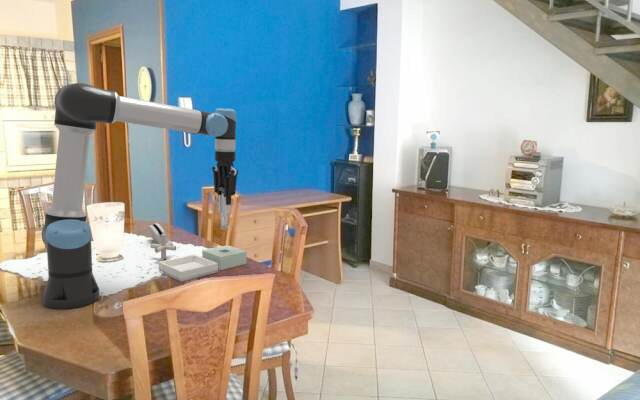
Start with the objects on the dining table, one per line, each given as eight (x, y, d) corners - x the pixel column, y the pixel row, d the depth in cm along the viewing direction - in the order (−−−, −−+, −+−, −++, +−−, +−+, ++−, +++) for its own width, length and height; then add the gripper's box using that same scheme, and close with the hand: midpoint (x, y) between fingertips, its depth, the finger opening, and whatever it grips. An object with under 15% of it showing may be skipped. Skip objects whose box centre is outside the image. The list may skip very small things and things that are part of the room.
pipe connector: (168, 264, 179) (168, 238, 178) (144, 261, 181) (144, 236, 180) (181, 257, 189) (181, 233, 187) (158, 254, 191) (158, 230, 189)
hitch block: (220, 270, 175) (220, 257, 175) (202, 262, 183) (202, 250, 182) (246, 263, 184) (246, 251, 183) (227, 257, 192) (227, 245, 191)
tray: (181, 281, 162) (181, 271, 161) (158, 271, 171) (158, 261, 171) (217, 272, 173) (217, 263, 172) (194, 263, 182) (194, 254, 182)
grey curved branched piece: (174, 247, 203) (166, 226, 200) (163, 252, 201) (155, 231, 197) (164, 238, 217) (156, 218, 213) (154, 242, 215) (146, 223, 211)
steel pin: (223, 230, 178) (223, 188, 176) (216, 228, 181) (217, 186, 178) (231, 229, 181) (232, 187, 179) (225, 227, 184) (225, 186, 181)
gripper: (246, 152, 174) (244, 214, 178) (221, 149, 184) (220, 208, 188) (229, 152, 169) (228, 217, 172) (204, 149, 179) (204, 210, 183)
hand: (224, 212), depth 180 cm, fingers closed on steel pin, 2 cm apart
